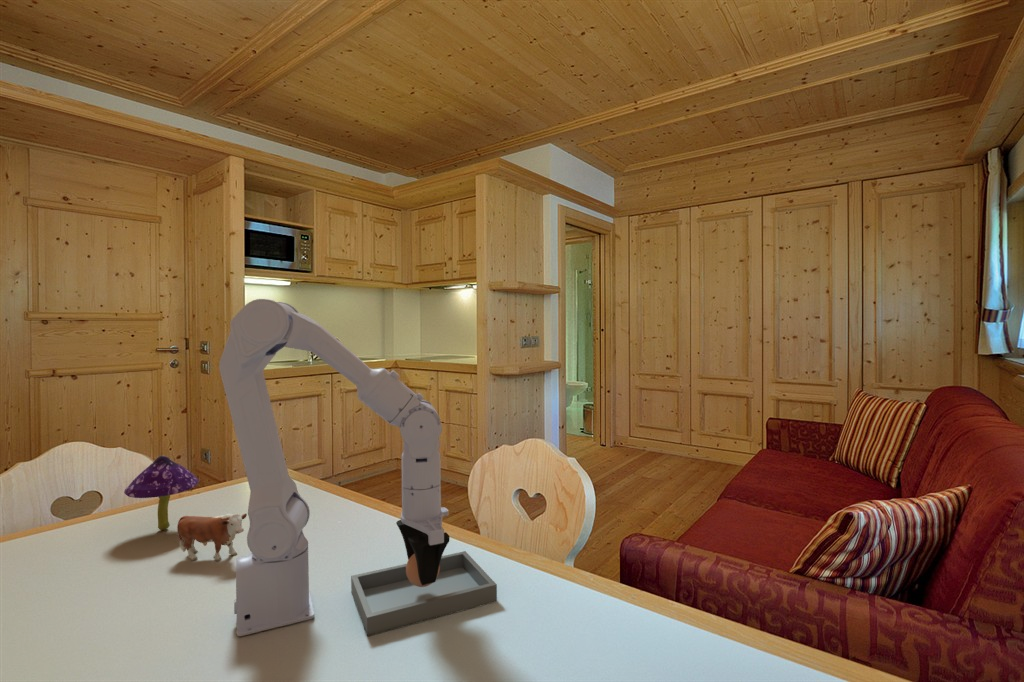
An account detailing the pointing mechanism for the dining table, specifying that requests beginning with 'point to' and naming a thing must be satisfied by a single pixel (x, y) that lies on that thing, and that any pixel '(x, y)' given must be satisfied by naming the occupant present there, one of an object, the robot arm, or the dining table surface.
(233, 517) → the bull figurine
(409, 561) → the ball
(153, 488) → the decorative mushroom
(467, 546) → the dining table surface
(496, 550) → the dining table surface
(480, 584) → the walled pen
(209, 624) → the dining table surface
